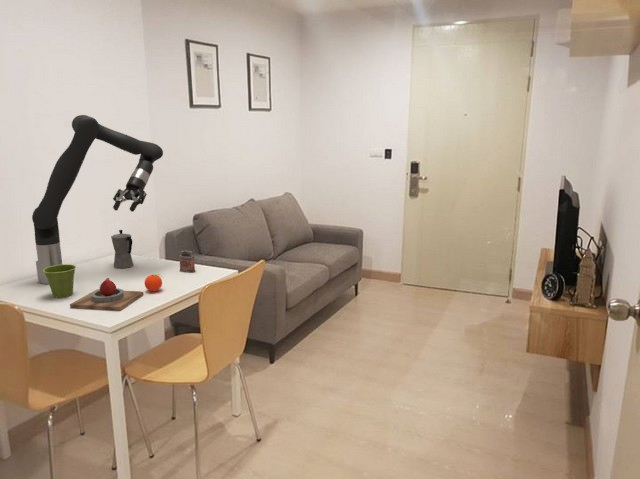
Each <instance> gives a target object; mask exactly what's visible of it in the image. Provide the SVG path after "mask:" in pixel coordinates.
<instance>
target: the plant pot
mask: <svg viewBox="0 0 640 479" xmlns="http://www.w3.org/2000/svg"><path fill="white" fill-rule="evenodd" d="M76 269H77V266H76V265H74V264H72V263H71V264H69V263H67V264H63V263H62V265H55V266H50V267H47V268H45V269H44V270H43V272H44V273H45V275H46V277H47V279H48V282H49V284H48V285H49V288H50V291H51V294H52V297H53V298H58V299H61V298H67V297H69V296H72V295H73V294H74V282H75V280H74V278H75V273H76V272H75V271H76Z"/></svg>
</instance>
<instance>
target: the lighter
mask: <svg viewBox="0 0 640 479" xmlns="http://www.w3.org/2000/svg"><path fill="white" fill-rule="evenodd" d="M193 254H194V251H190V250H187V249H186V250H181V251H180V254H179V255H178V259H179V272H180V273H187V274H193V273H194V274H195V273H196V267H195V255H193Z"/></svg>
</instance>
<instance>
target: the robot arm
mask: <svg viewBox="0 0 640 479" xmlns="http://www.w3.org/2000/svg"><path fill="white" fill-rule="evenodd" d="M71 127H72V130H73V131H74V134H73V137H72V139H71V142H70V144H69V145H68V146H67V147H66V149H65V150H64V151H63V152H62V153H61V155H60V156H59V158H58V159H57V161H56V163H55V165H54V167H53V169H52V171H51V173H50V177H49V180H48V182H47V187H46V190H45V191H44V192H45V193H44V196H43V197H42V199H41V201H40V203H39V205H38V206H37V207H36V208H35V209H34V210H33V212H32V216H31V218H32V223H33V229H34V241H35V250H36V256H37V260H36V261H35V265H36V274H37V283H39V284H42V285H49V282H48V279H47V277H46V275H45V273H44V272H43V270H44V269H45V268H47V267H50V266H55V265H62V264H63V259H62V258H63V257H62V248H61V239H60V229H59V221H58V217H59V213H60V211H61V207H62V205H63V202H64V200H65V199H66V197H67V196H68V194H69V192H70V191H71V189H72V187H73V185H74V184H75V181H76V179H77V177H78V175H79V173H80V170H81V168H82V165H83V163H84V161H85V158H86V156H87V153H88V151H89V150H90V148H91V146H92V144H93V142H94V141H95V139H96V140H99V141H102V142H104V143H107V144H108V145H112V146H113V147H115V148H117V149H119V150H121V151H123V152H126V153H129V154H132V155H135V156H138V155H139V159H138V162H137V164H136V167H135V168H134V171H133V172H132V173H131V175H130V177H129V179H128V180H127V182H126V185H125V189H124V190H122V189H121V188H119V189H118V190H117V191H116V193H115V194H114V196H113V198H112V200H113V201H114V202H115V203H114V204H113V206H112V208H113V209H114V211H118V210H119V208H120V207H121V204H123V203H125V202H126V201H133V202H132V203H131V205H130V207H129V211H130V212H135V211H136V208H137V207H138V206H139V205H142V204H143V203H144V202H145V199H146V196H147V195H148V194H147V192H146V191H145V188H146V185H147V184H148V181H149V178H150V177H151V174H152V172H153V171H154V165H153V164H154V163H155V162H156V161H159V159H160V160H161V158H162V157H163V155H164V151H163V149H162V147H161V146H160V145H158V144H156V143H153V142H150V141H144V140H140V139H138V138H136V137H133V136H131V135H129V134H125V133H123V132H120V131H117V130H114V129H111V128H109V127H107V126H104V125H102V124H100V123H99V122H98V121H97V119H95V118H94V117H92V116H89V115H86V114H79V115H76V116H75V117H74V118H73V119H72V121H71ZM113 209H112V210H113Z"/></svg>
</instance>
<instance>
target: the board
mask: <svg viewBox="0 0 640 479" xmlns="http://www.w3.org/2000/svg"><path fill="white" fill-rule="evenodd" d="M97 290H100V288H98V289H94V290H92V291H91V292H90V293H88V294H86V295H84V296H82V297H80V298H79V299H77V300H75V301H73V302H71V303H70V304H69V308H70V309H78V310H79V309H80V310H81V309H82V310H93V311H95V310H99V311H112V312H113V311H114V312H121V311H122V310H124V309H126V308H127V307H129V306H130V305H131V304H133V303H135V302H136V301H137V300H139V299H140V298H141V297H143V296H144V291H140V290H139V291H138V290H137V291H135V290H123V294H124V297H123V298H122V299H120V300H117V301H114V302H107V303H96V302H94V301H92V298H91V294H92V293H93V292H95V291H97ZM113 295H116V294H113ZM113 295H112V296H113ZM98 297H106V296H104V295H101V296H98Z"/></svg>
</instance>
